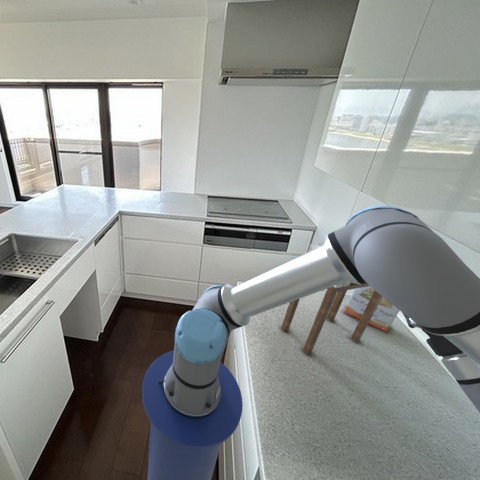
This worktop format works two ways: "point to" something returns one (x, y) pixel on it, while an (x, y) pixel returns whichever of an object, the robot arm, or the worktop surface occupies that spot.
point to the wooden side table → (332, 310)
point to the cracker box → (382, 314)
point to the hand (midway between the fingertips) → (384, 258)
